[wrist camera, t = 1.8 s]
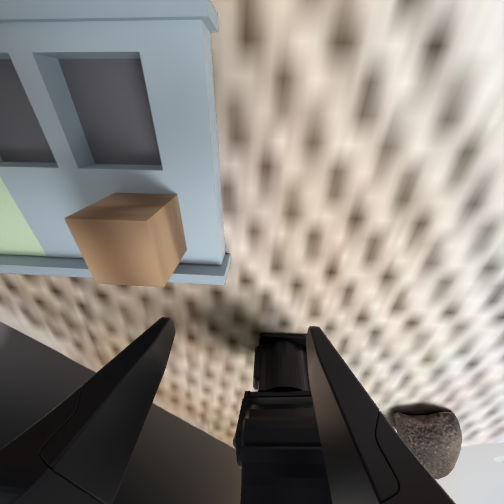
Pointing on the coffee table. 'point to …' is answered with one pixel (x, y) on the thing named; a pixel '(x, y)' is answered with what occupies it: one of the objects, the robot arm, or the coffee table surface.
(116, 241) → the block
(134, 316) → the coffee table surface
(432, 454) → the stone
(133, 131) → the trap box
